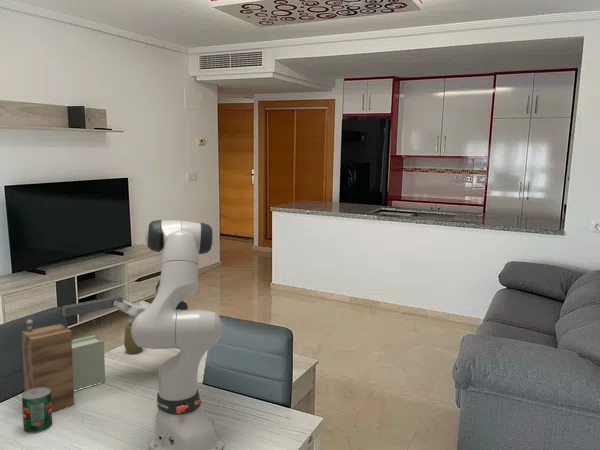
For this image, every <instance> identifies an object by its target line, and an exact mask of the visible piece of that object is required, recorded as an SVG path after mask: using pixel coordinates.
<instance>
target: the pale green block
mask: <svg viewBox="0 0 600 450" xmlns="http://www.w3.org/2000/svg"><path fill="white" fill-rule="evenodd" d="M96 337H97V336H96V335H95V334H94V335H90V336H86V337H85V336H84V337H81V338H76V339H73V340H72V363H73V391H74V390H78V389H80V388H84V387H87V386H90V385H94V384H98V383H101V382H105V383H106V368H105V340H102V339H101V340H99V339H97V338H96Z"/></svg>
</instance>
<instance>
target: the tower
mask: <svg viewBox="0 0 600 450" xmlns="http://www.w3.org/2000/svg"><path fill="white" fill-rule="evenodd" d="M33 322H34V321H33V320H32V319H27V320H26V321H25V325H26V330H23V331H21V346H22V347H21V348H22V349H21V350H22V366H23V388H24V389H23V390H24V392H25V391H27V390H29V389H32V388H37V387H47V388H50V389H51V407H52V413H55V412H58V411H60V409H61V410H64V408H65V409H67V408H66V407H68V408H70V407H69V406H71V407H73V406H72V405H74V406H75V398H74V397H75V395H74V393H75V392H74V391H73V363H72V337H73V336H72V330H71V329H70V328H68V327H66V326H64V325H63V324H61V323H58V324H52V325H48V326H42V327H38V328H33V324H34V323H33Z"/></svg>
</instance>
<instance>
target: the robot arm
mask: <svg viewBox="0 0 600 450" xmlns="http://www.w3.org/2000/svg"><path fill="white" fill-rule="evenodd" d="M213 231H214V230H213V227H212V226H211V225H210V224H209V223H208V224H207V223H205V222H196V221H195V222H194V221H187V220H180V219H179V220H178V219H177V220H176V219H174V220H172V219H171V220H170V219H169V220H168V219H167V220H162V219H156V220H152V221H150V222H149V223H148V226H147V228H146V229H145V235H144V237H145V240H144V241H145V243H146V244H147V248H148V249H149V250H150V251H153V252H156V253H161V269H160V279H159V281H158V282H157V283H156V286H155V292H156V293H155V294H156V295H155V297H154V299H153V300H152V302H151V303H150V302H148V301H145V300H141V301H139V302H135V303H132V302H130V301H128V300H124V299H123V303H121V302H118V301H115V300H114V301H113V303H112V305H114V306H116V307H113V308H114V309H117V310H118V311H120V312H123V313H125V314H127V315H129V319H132V322H133V324H132V327H131V335H132V339H133V341H134V342H135V344H136V345H137V346H138V347H142V349H143V348H144V349H151V350H163V349H164V350H171V349H177V350H179V352H178V353H177V354H176V355H174V356H172V357H170V358H168V359H167V360H165V361H164V362H162V364H161V365H160V367H159V369H158V392H157V395H156V396H157V397H156V406H157V408H158V409H157V411H156V413H155V416H154V419H153V428H152V440H151V441H150V442H149V444H148V449H149V450H223V449H224V442H223V441H222V440H221V439H220V438H219V437H218V435H217V434H216V431H215V427H214V423H215V421H214V418H213V417H211V416H210V417H209V416H208V414H207V412H206V410H205V408H203V406H202V405H201V404H202V401H203V399H202V398H201V397H200V396H201V395H200V393H199V389H198V373H199V366H200V364H201V360H202V358H203V357H204V356H205V353H207V351H208V350H209V349H210V348H212V347H213V346H215V344H217V343H218V341H219V340H220V338H221V335H222V334H223V333H222V332H223V323H222V319H221V318H220V316H219V315H218V314H217V313H216V312H215V311H210V310H203V309H189V306H188V303H187V299H189V298H191V297H192V296H193V295H195V293H196V292H197V291H198V286H199V255H203V254H208V253H209V252H210V251H211V250H212V247H213V245H214V242H215V234H214V232H213Z"/></svg>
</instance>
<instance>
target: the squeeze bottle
mask: <svg viewBox="0 0 600 450" xmlns="http://www.w3.org/2000/svg"><path fill="white" fill-rule="evenodd" d="M132 324H133V322H132V319H131V318H129V319H127V324H126V325H125V330H124V340H123V346H124V348H125V350H126V354H130V355H135V354H139V353H141V352H142V350H143V347H138V346H137V345H136V344H135V342H134V341H133V339H132V335H131V327H132Z"/></svg>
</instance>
